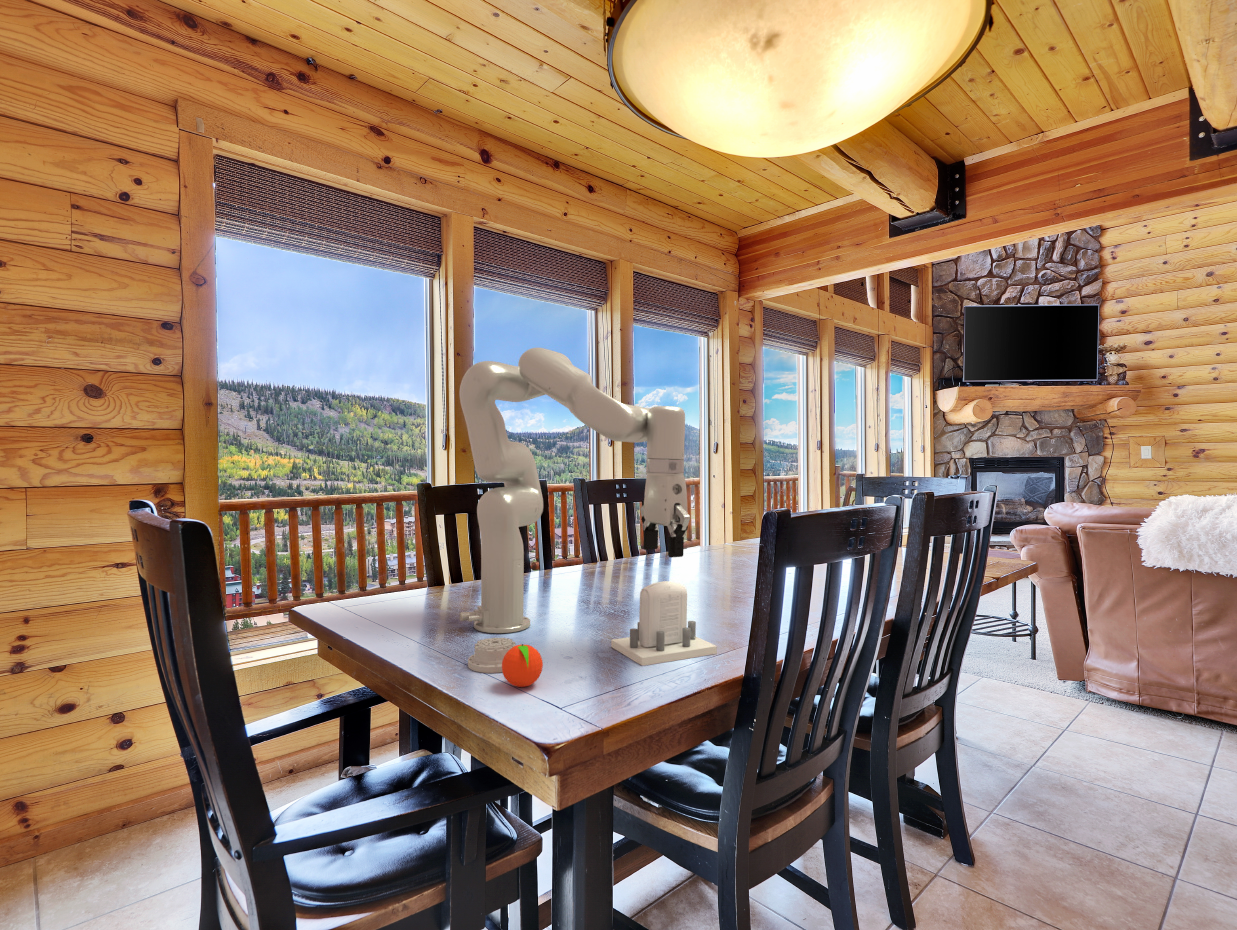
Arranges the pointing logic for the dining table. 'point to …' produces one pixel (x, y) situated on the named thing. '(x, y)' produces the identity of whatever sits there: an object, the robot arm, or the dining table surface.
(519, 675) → the clementine
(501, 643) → the mechanical component
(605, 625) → the dining table surface
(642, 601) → the photo printer
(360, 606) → the dining table surface
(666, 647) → the pin tray
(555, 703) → the dining table surface
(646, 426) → the robot arm
